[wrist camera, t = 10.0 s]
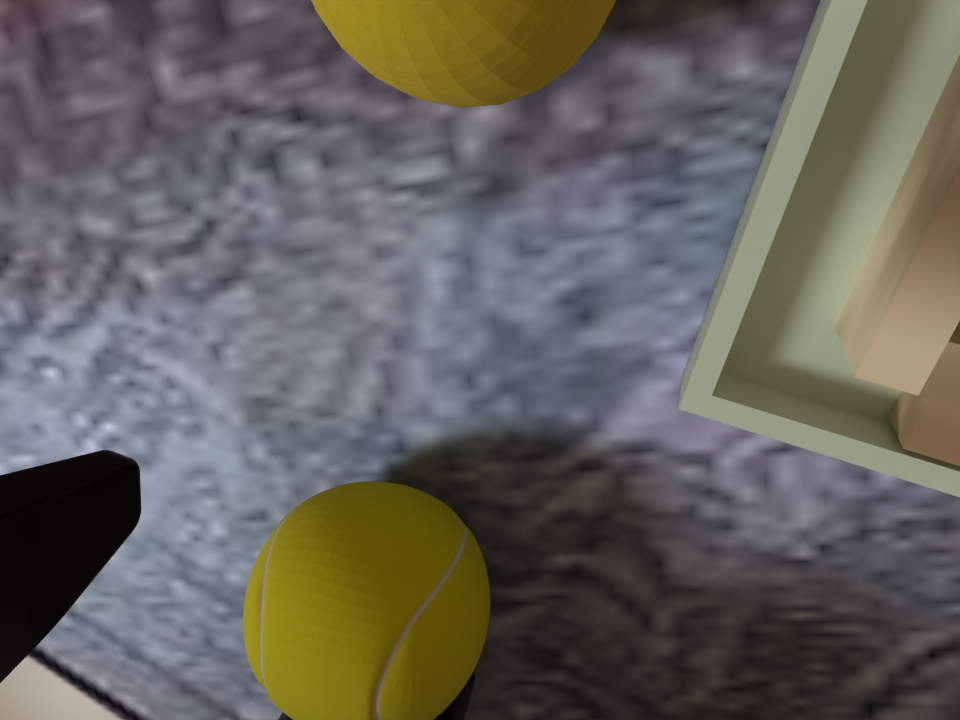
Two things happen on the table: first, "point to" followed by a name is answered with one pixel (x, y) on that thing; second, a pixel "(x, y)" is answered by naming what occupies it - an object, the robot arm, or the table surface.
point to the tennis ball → (367, 606)
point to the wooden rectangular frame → (916, 293)
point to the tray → (824, 238)
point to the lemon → (465, 43)
